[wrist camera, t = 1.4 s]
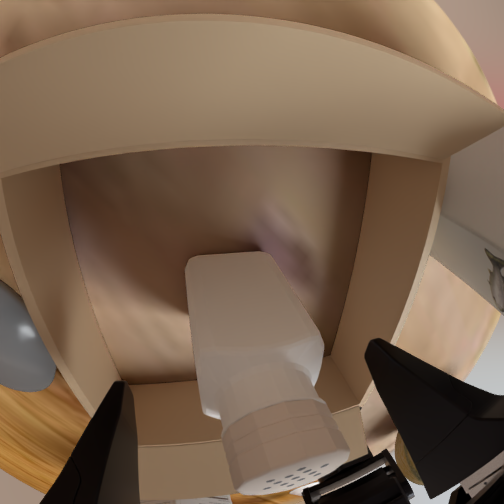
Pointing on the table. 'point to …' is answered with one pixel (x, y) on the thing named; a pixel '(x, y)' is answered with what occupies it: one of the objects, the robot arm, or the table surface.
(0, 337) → the coaster
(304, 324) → the salt shaker
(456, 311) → the table surface
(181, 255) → the table surface
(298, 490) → the champagne flute
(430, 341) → the table surface
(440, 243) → the supplement box
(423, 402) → the robot arm
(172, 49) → the carton
